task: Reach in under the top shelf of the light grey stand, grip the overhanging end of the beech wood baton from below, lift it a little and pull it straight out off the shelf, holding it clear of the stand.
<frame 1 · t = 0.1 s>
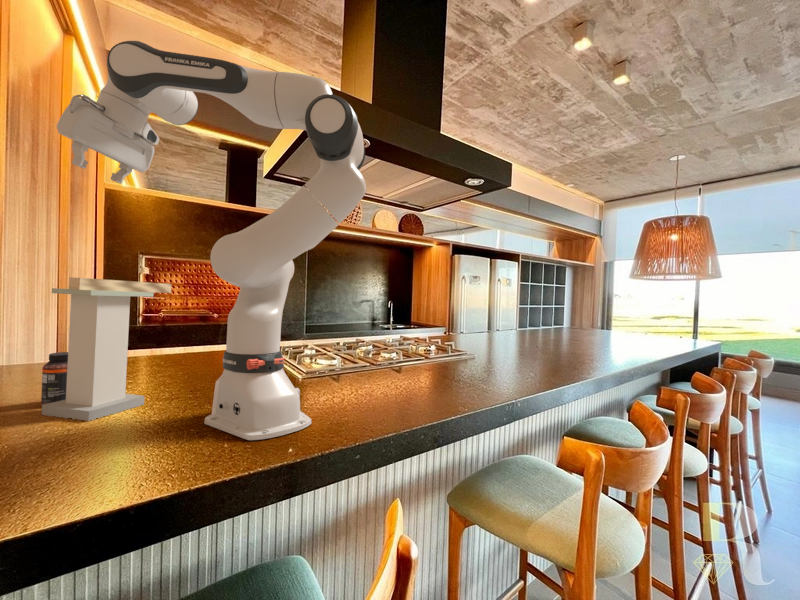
hand: (98, 174, 79), 52 cm above the table, tool tilted 20°, fingers open, 8 cm apart
supplement bottle: (59, 404, 79), on the table
stand: (96, 409, 76), on the table
baton: (126, 291, 82), point 26 cm above the table, touching stand
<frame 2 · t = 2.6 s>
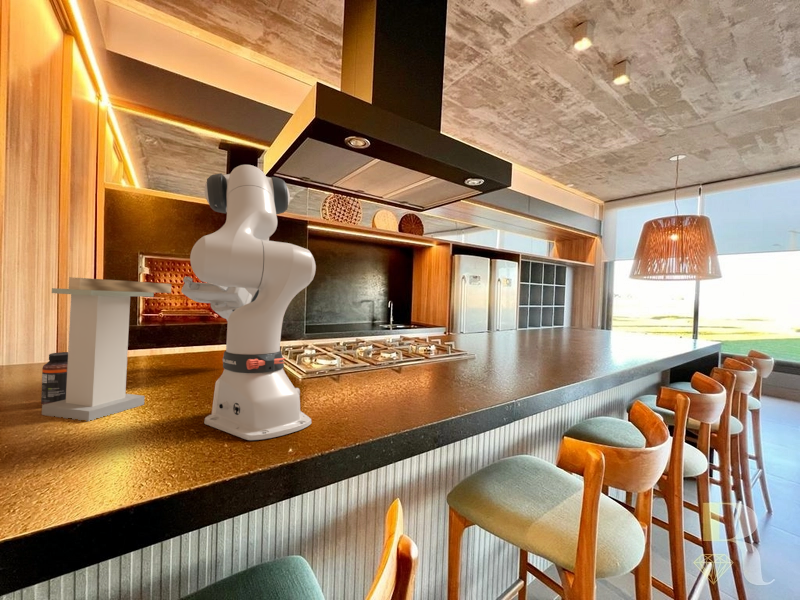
hand: (199, 278, 103), 30 cm above the table, tool pointing upward, fingers open, 8 cm apart
nothing on the table moved.
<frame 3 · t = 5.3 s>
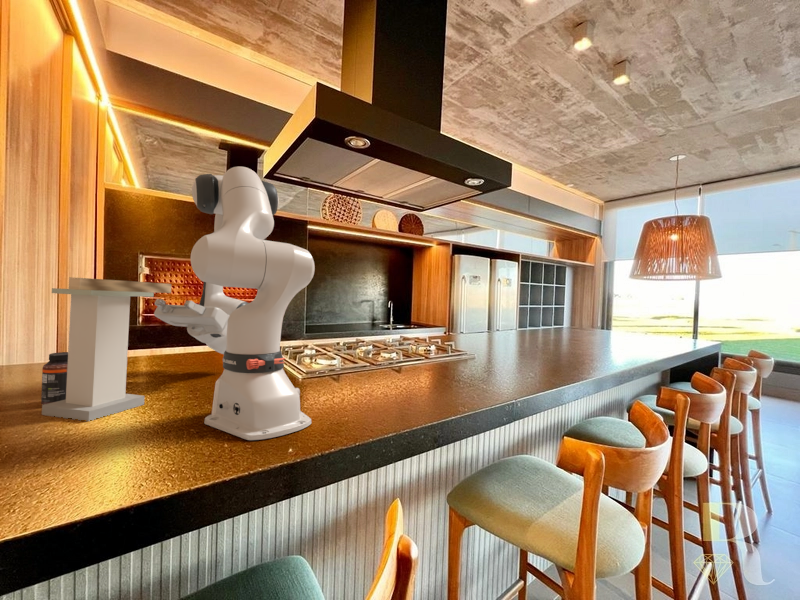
hand: (172, 302, 94), 24 cm above the table, tool pointing upward, fingers open, 8 cm apart
nothing on the table moved.
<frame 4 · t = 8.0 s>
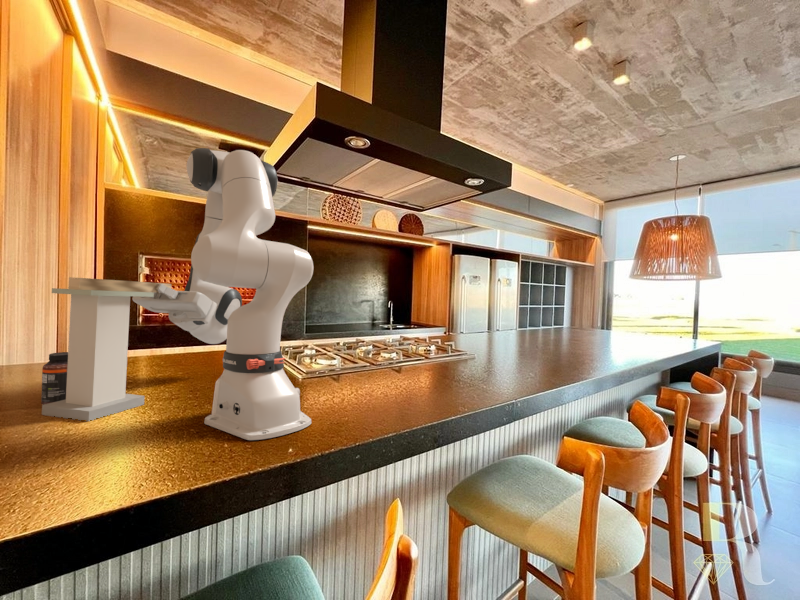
hand: (150, 285, 88), 28 cm above the table, tool pointing upward, fingers closed on baton, 3 cm apart
baton: (126, 291, 82), point 26 cm above the table, touching gripper, stand
everything else where it was.
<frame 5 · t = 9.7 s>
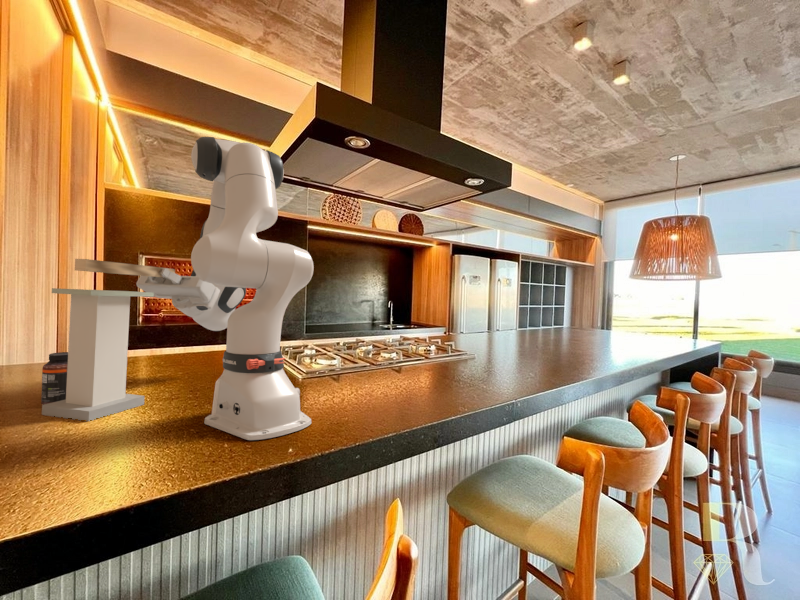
hand: (154, 270, 89), 32 cm above the table, tool pointing upward, fingers closed on baton, 3 cm apart
baton: (130, 274, 83), point 30 cm above the table, touching gripper
everything else where it was.
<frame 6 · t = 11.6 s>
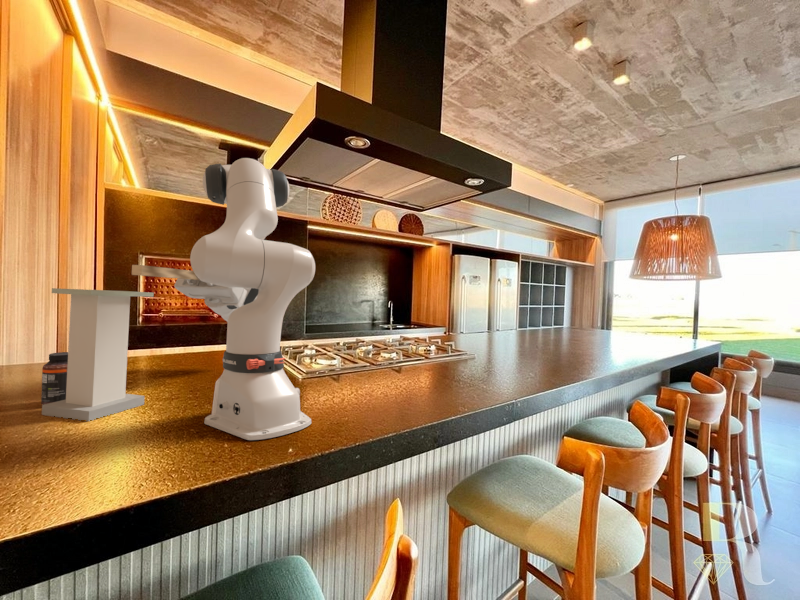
hand: (192, 273, 101), 32 cm above the table, tool pointing upward, fingers closed on baton, 3 cm apart
baton: (174, 277, 95), point 30 cm above the table, touching gripper
everything else where it was.
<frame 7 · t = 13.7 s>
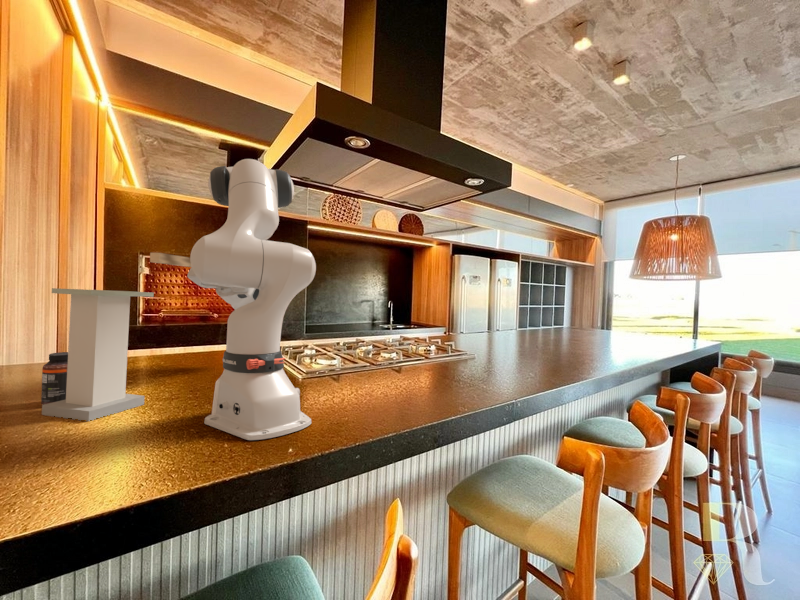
hand: (205, 263, 105), 35 cm above the table, tool pointing upward, fingers closed on baton, 3 cm apart
baton: (188, 266, 99), point 34 cm above the table, touching gripper
everything else where it was.
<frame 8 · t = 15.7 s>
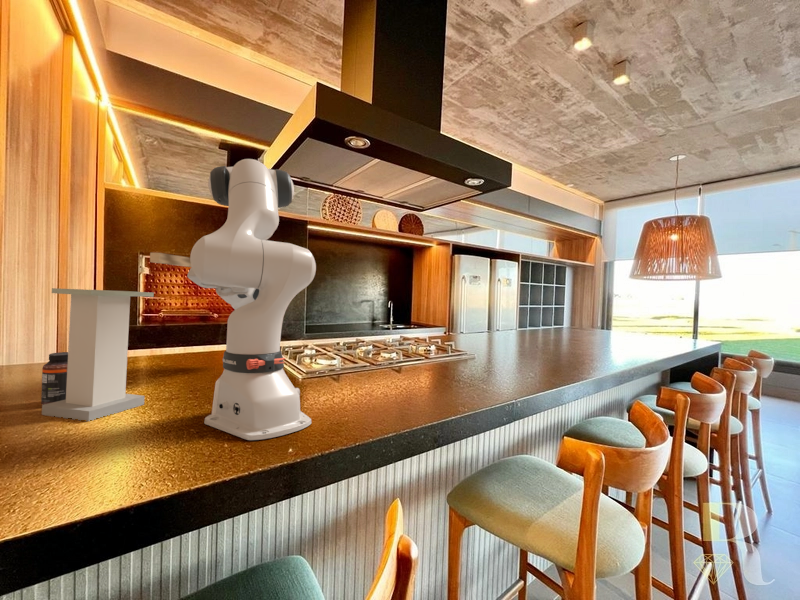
hand: (205, 263, 105), 35 cm above the table, tool pointing upward, fingers closed on baton, 3 cm apart
baton: (188, 266, 99), point 34 cm above the table, touching gripper
everything else where it was.
at the end: the gripper is holding baton; baton touching gripper; baton moved 19.6 cm from its start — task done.
